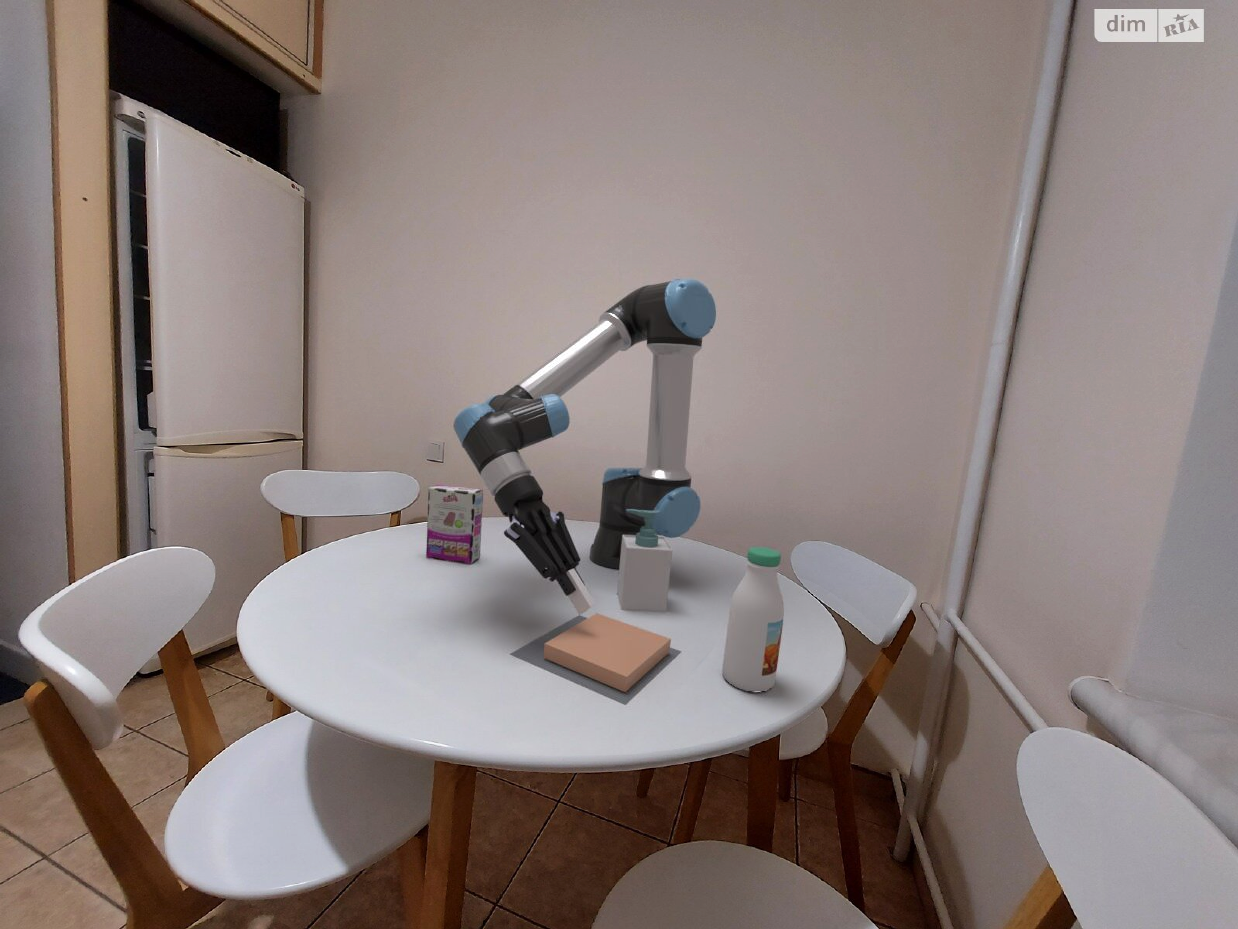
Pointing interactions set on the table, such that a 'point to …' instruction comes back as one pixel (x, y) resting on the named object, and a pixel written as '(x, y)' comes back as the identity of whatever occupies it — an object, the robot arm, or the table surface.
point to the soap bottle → (644, 568)
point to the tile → (608, 651)
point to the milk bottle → (755, 624)
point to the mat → (535, 655)
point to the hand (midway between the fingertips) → (587, 609)
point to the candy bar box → (454, 523)
